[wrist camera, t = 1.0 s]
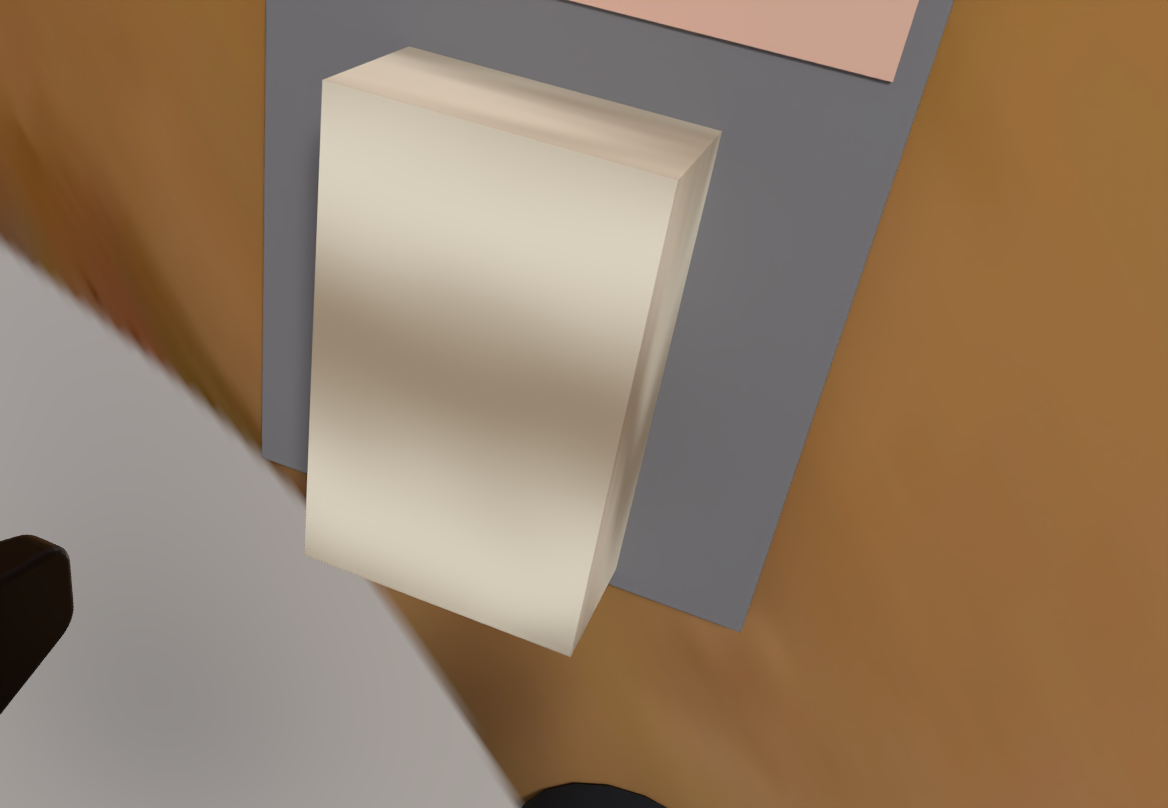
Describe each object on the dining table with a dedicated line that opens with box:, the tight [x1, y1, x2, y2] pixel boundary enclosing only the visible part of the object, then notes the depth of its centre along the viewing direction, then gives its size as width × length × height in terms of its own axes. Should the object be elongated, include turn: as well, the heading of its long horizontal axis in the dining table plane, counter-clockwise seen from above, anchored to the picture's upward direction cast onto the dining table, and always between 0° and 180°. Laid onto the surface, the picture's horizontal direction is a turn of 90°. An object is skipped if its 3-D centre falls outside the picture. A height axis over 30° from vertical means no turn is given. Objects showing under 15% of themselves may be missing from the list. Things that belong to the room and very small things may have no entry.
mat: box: [262, 0, 954, 632], centre depth 19 cm, size 21×12×1 cm, turn 170°
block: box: [304, 46, 722, 657], centre depth 20 cm, size 10×6×3 cm, turn 170°
